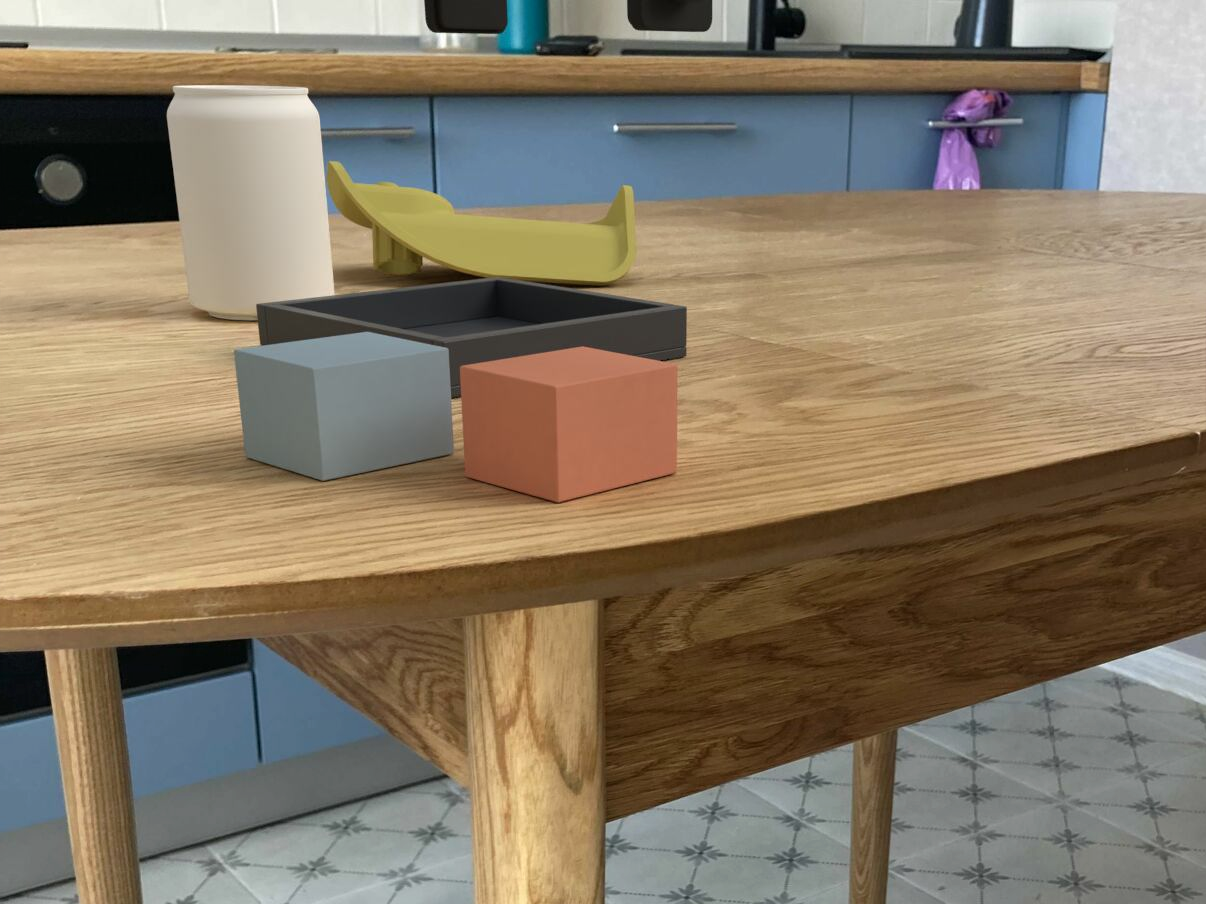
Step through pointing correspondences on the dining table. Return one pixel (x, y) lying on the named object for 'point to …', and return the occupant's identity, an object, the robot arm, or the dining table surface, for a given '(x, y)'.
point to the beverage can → (250, 196)
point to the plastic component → (485, 236)
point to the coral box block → (569, 421)
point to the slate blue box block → (344, 403)
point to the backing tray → (486, 320)
